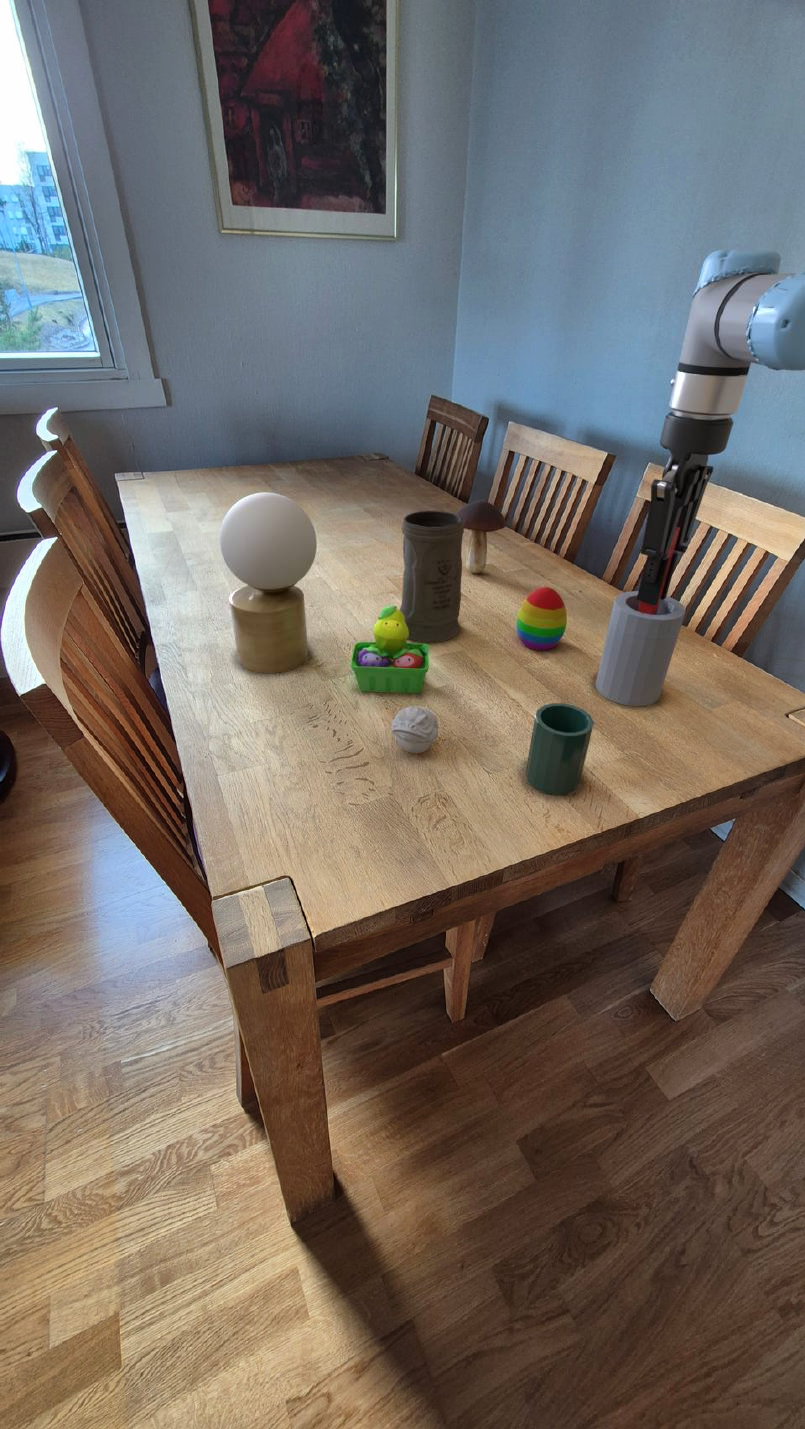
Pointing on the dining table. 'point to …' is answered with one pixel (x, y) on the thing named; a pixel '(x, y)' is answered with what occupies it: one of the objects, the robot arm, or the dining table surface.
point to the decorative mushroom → (479, 531)
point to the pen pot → (558, 748)
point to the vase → (638, 650)
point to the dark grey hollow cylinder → (432, 574)
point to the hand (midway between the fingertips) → (651, 598)
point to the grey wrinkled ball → (415, 728)
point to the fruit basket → (390, 657)
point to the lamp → (268, 579)
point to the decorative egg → (542, 619)
